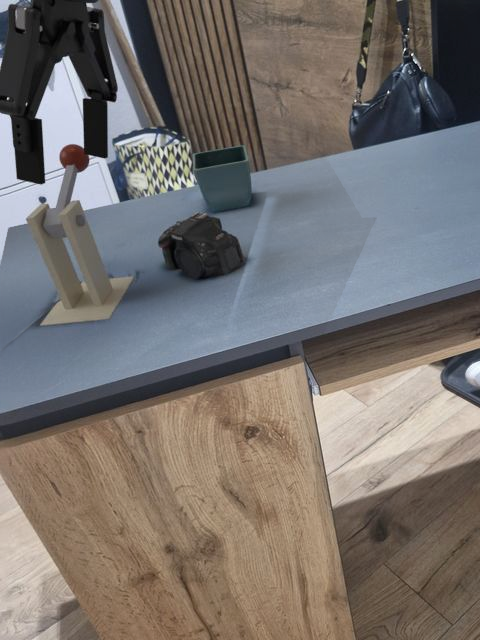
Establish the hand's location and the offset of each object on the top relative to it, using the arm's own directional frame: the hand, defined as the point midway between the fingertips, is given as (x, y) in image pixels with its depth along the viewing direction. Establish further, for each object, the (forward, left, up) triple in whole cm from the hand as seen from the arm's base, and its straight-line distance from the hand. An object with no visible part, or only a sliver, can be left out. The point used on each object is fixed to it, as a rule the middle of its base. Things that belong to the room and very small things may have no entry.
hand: (66, 167), depth 73 cm
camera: (+8, +10, -19) cm, 23 cm away
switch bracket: (-4, 0, -19) cm, 19 cm away
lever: (-5, +6, -6) cm, 10 cm away
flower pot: (+2, +32, -19) cm, 37 cm away
